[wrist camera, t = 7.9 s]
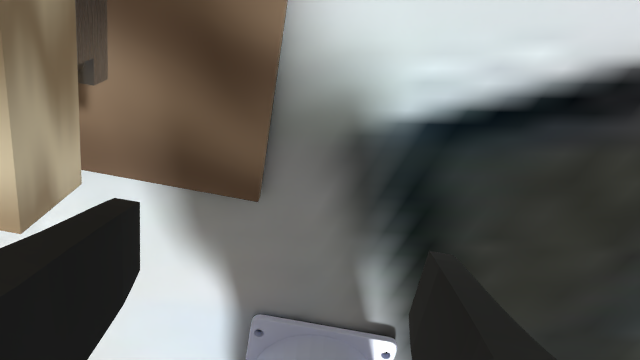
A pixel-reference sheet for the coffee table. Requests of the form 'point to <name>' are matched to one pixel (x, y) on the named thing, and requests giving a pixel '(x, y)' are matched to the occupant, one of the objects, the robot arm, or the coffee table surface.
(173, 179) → the board
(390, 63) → the coffee table surface
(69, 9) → the beech bar
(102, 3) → the gray stepped block
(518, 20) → the coffee table surface
